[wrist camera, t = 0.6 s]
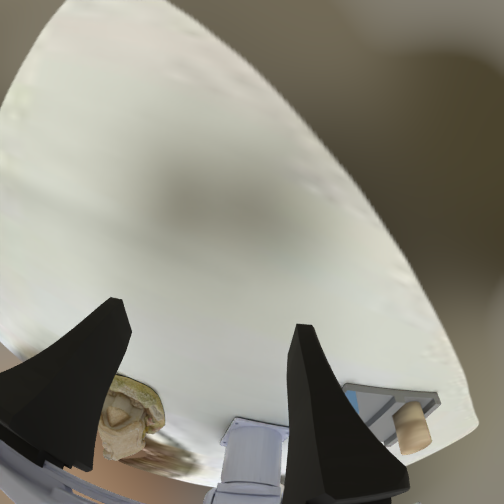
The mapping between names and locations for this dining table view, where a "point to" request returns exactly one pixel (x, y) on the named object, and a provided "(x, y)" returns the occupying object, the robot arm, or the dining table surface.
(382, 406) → the board
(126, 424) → the ceramic model
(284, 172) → the dining table surface
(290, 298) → the dining table surface
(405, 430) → the wooden plug
